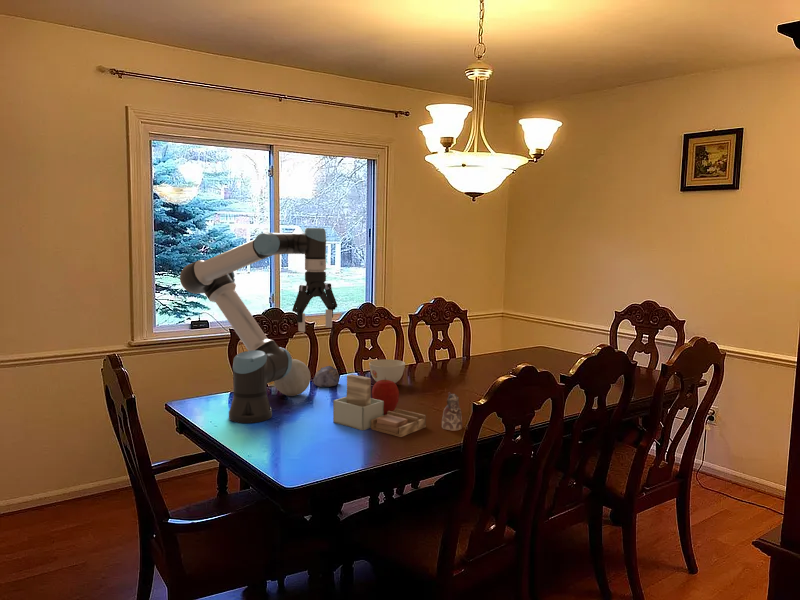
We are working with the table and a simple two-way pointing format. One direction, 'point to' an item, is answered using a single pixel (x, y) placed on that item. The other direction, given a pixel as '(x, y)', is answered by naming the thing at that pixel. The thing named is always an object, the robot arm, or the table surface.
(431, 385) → the table surface
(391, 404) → the red ovoid
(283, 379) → the decorative sphere
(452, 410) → the figurine
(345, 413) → the box
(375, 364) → the bowl
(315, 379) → the rock
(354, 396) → the birch sheet
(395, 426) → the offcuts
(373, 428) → the oak rack
